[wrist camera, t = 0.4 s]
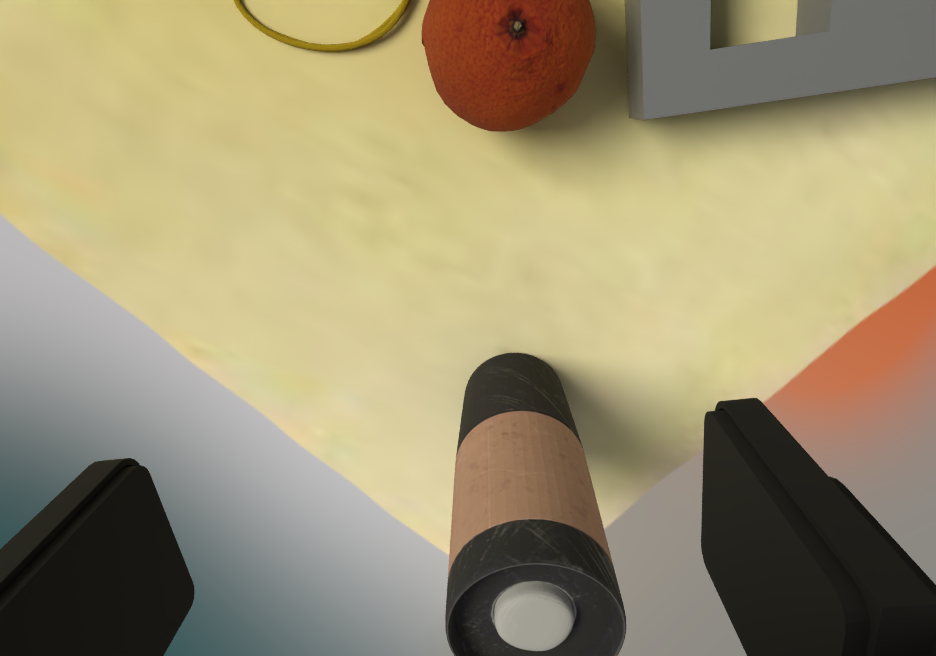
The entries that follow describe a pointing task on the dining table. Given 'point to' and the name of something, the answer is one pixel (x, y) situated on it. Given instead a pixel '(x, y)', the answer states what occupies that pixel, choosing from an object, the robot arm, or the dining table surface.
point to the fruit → (507, 57)
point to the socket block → (772, 54)
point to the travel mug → (526, 524)
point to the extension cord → (333, 47)
